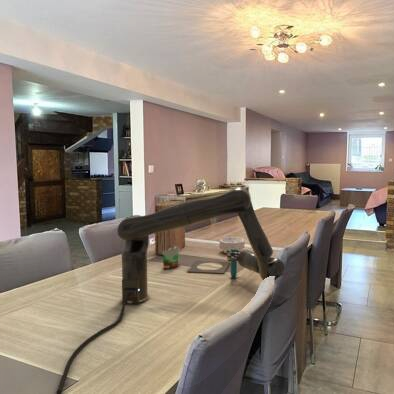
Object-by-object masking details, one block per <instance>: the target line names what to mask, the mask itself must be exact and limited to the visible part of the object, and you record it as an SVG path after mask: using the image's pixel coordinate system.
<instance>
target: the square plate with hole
mask: <svg viewBox="0 0 394 394" xmlns="http://www.w3.org/2000/svg"><path fill="white" fill-rule="evenodd" d="M230 265H231V261H228V262H227V261H206V260H205V261H202V260H197V261H196V262H195V263H194V264H193V265H192V266H191V267H190V268H189V269H188V270H187V273H192V274H211V275H212V274H213V275H224V274H225V272H226V271H227V269H228V267H229V266H230Z"/></svg>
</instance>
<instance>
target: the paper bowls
mask: <svg viewBox="0 0 394 394" xmlns="http://www.w3.org/2000/svg"><path fill="white" fill-rule="evenodd" d="M232 248H235V249H237V250H238V251H239V250H240V251H242V250H244V249H245V239H244V238H242V237H238V236H237V237H236V236H226V237H222V238H220V239H219V249H220V250H222V252H223V254H226V251H227V250H229V251H231V249H232Z"/></svg>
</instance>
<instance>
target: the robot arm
mask: <svg viewBox="0 0 394 394" xmlns="http://www.w3.org/2000/svg"><path fill="white" fill-rule="evenodd" d="M228 215H237V217H238V218H239V220H240V221H241V223H242V226H243V228H244V232H245V234H246V237H247V239H248V243H249V244H250V247H251V249H252V250H249V249H241V251H240V250H239V251H238V250H237V252H231V251H229V250H227V251H226V253H225V254H226V259H227V261H228V262H231V260H232V259H233V260H235V261H237V263H238V265H239V266H240V267H242V268H245V269H247V270H249V271H252V272H254V273H255V274H259V276H260V278H261V280H262V281H263V280H264V279H265V278H267V277H269V276H275V281H276V280H277V279H279V278H280V277H281V276H283V275H284V274H285V273H286V271H287V267H286V264H285V262H284V261H283V260H282V259H280V258H279V257H274V256H273V257H272V255H273V254H274V249H273V248H272V245H271V243H270V241H269V239H268V237H267V235H266V234H265V231H264V229H263V227H262V226H261V224H260V221H259V220H258V217H257V215H256V213H255V210H254V206H253V203H252V196H251V194H250V192H249V190H247V189H246V188H244V187H243V186H236V187H234V188H231V190H230V191H228V192H226V193H223V194H220V195H217V196H214V197H211V198H202V199H200V198H199V199H192V200H188V201H187V200H186V201H185V202H183V203H179V204H176V205H173V206H170V207H168V208H165V209H163V210H160V211H158V212H156V213H155V212H153V213H151V214H147V215H139V214H134V215H131V216H128V217H125V218H123V219H122V220H121V221H120V222H119V224H118V226H117V229H116V233H117V236H118V237H119V238H120V239H121V240H123V241H124V246H123V248H122V250H121V277H122V278H121V301H122V306H121V310H120V313H119V316H118V318H117V320H116V321H114V322H113V323H111V324H109V325H108V326H105V327H104V328H102V329H100V330H99V331H97V332H96V333H94V334H92V335H91V336H89V337H88V338H87V339H86V340H84V341H83V342H82V343H81V344H80V345H79V346H78V347H77V348H76V349H75V350H74V352H73V353H72V354H71V356H70V357H69V358H68V360H67V363H66V364H65V367H64V370H63V373H62V375H61V378H60V381H59V384H58V387H57V390H56V394H61V393H62V391H63V388H64V385H65V382H66V379H67V375H68V374H69V373H68V372H69V371H70V367H71V365H72V362H73V361H74V359H75V358H76V356H77V355H78V353H79V352H80V351H81V349H83V348H84V347H85V346H86V345H87V344H89V342H91V341H93V340H94V339H95V338H97V337H99V336H100V335H101V334H103V333H104V332H106V331H108V330H110V329H112V328H113V327H115V326H117V325H118V324H119V323H120V322H121V320H122V318H123V316H124V312H125V308H126V306H127V304H128V305H129V304H130V305H139V304H141V303H143V302H145V301H147V300H148V299H149V288H148V287H149V286H148V285H149V283H148V249H149V244H150V243H149V242H150V241H149V239H150V235H153V234H154V235H155V233H157V232H162V231H168V230H173V229H178V228H183V227H185V228H186V227H190V226H194V225H197V224H200V223H203V222H205V221H209V220H211V219H214V218H215V219H216V218H218V217H223V216H228ZM232 254H233V256H232Z"/></svg>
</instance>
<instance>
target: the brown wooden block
mask: <svg viewBox="0 0 394 394" xmlns="http://www.w3.org/2000/svg"><path fill="white" fill-rule="evenodd" d="M183 202H186V201H185V199H184V200H183V199H170V200H165V201H162V202H158V203H156V204H154V213H156V212H158V211H160V210H163V209H165V208H168V207H170V206H173V205H176V204H179V203H183ZM173 245H176V246H178V247H179V249H180V250H181V249H183V248H184V247H186V227H183V228H178V229H173V230H168V231H162V232H157V233H154V253H155V256H158V255H159V256H160V255H161V256H163V255H162V252H163V250H167V249H168V248H172V247H173Z"/></svg>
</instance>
